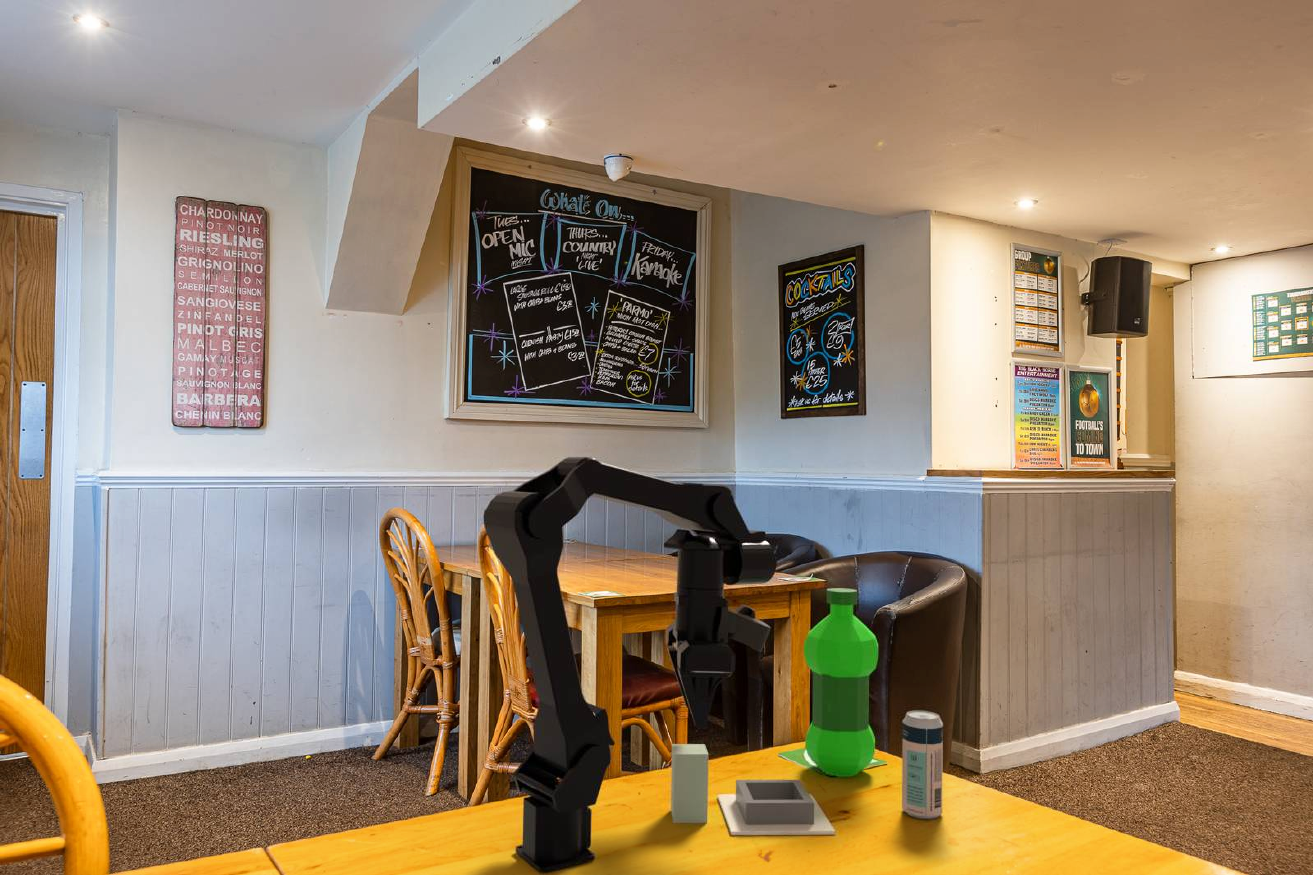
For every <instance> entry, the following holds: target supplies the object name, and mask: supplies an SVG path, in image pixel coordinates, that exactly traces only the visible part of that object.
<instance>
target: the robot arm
mask: <svg viewBox="0 0 1313 875" xmlns="http://www.w3.org/2000/svg"><path fill="white" fill-rule="evenodd" d="M590 497H593V498H596V499H597V498H598V499H601V500H607V501H610V502H615V503H619V504H623V505H626V506H630V507H634V508H639V509H643V510H647V511H650V512H653V513H655V514H658V515H659V516H660V517H661V518H662V519H663V520H665V521H667V522H669V523H671V524H673V525H675V526H677V527H679V528H680V529H679V528H677V529H676V530H675V532H674V533H673V534H672V535H671V536H670V537H668V539H666V540H665V541H664V542H663V547H664V549H668V550H669V549H670V550H677V568H676V570H677V571H676V572H677V574H676V591H674V596H673V597H674V599H673V601H674V602H675V619H674V620H675V621H672V622H671V623H670V624H668V626H666V628H665V644H666V646H667V647H666V649H667V652H668V655H669V658H670V661H671V664H672V667H673V670H674V673H675V677H676V680H677V682H678V686H679V688H680V692H681V695H682V698H683V701H684V705H685V707H686V708H687V709H689V710H690V713H691V716H692V719H693V723H694V726H695V728H698V729H703V728H705V727H707V726H706V725H707V721H708V718H709V714H710V711H711V707H712V703H713V700H714V697H715V693H716V690H717V687H718V685H719V684H721V683H722V682H723V681H724V680H725V679H727V678H729V677H731V675H732V674H733V672H735V671H736V654H735V652H734V651H733V650H732V649H731V648H730V646H729V645H728V644H727V643H728V642H729V639H731V640H734V641H736V642H739V643H741V644H744V645H747V646H748V647H750V648H751V649H752V650H753V651H756V652H758V653H761V652H762V651H763V650H764V647H765V644H766V641H767V638H768V636H769V634H770V631H771V626H769V624H767V623H765V622H763V621H762V620H760V619H757V618H756V612H755V609H753V608H751V606H750V607H749V606H746V605H744V604H741V605H740V606H739V607H738V608H736V609H732V608H729V600H728V599H727V598H726V597H725V596H724V590H725V589H724V588H725V585H726V586H739V585H740V586H741V585H743V586H744V585H757V584H758V585H761V584H766V583H768V582H770V581H771V579H772V578H774V575H775V573H776V570H777V562H778V560H777V557H776V555H775V551H774V548H773V547H772V546H771V544H770V543H769V542H768V541H766V536H767V534H766V531H763V530H756V529H754V530H753V529H751V530H750V529H749V528H748V527H747V524H746V522H745V520H744V518H743V516H742V514H741V512H740V510H739V508H738V507H737V504H736V502H735V499H734V497H733V494H732V489H730V488H729V487H728V486H727V485H724V484H721V483H720V484H719V483H702V482H701V483H697V482H676V481H671V480H667V479H664V478H660V477H656V476H653V475H649V474H645V473H642V472H639V471H634V470H631V469H626V468H623V467H621V466H617V465H612V464H609V463H606V462H601V461H599V460H598V459H596V458H595V457H589V456H569V457H566V458H564V459H562V460H561V461H559V462H558V463H557V464H555V465H554V466H553V467H551V468H550V469H548V470H547V471H544V472H543V473H541V474H539V475H537V476H534V477H533V478H531V479H529V480H527V481H525V482H523V483H522V484H520V485H519V486H517V487H516V488H515V489H513V490H512V491H511V490H509V491H502V492H501V493H499V494H497V495H495V496H494V497H493V498H492V499H491V500H490V502H489V504H488V505H487V507H486V508H485V509H484V511H483V527H484V530H485V532H486V534H487V538H488V540H489V541H490V544H491V547H492V549H493V551H494V554H495V556H496V558H497V559H498V560H499V562H500V563H501V565H502V566H503V568H504V569H505V571H506V572H507V574H508V576H510V579H511V581H512V584H513V585H512V586H513V589H514V593H515V599H516V603H517V608H518V612H519V617H520V621H521V626H522V630H523V636H524V640H525V645H526V648H527V653H528V660H529V664H530V667H531V671H532V676H533V681H534V686H535V690H536V695H537V699H538V709H537V711H536V715H535V719H534V721H533V722H534V723H533V726H532V733H533V736H532V737H533V747H532V748H531V750H530V751H529V752H528V754H527V755H526V756H525V758H524V759H523V760H522V762H520V764H519V765H518V767H517V768H516V769H515V771H514V772H513V779H514V783H515V787H516V790H518V792H520V793H524V794H526V795H528V796H527V797H523V804H522V806H523V807H522V808H523V809H522V844H519V845H517V846H515V853H516V854H518V855H519V856H520V857H521V858H523V859H524V860H525V861H526V863H528V864H530V865H531V866H532V867H533V868H535V869H536V870H537V871H538V872H540V873H547V872H550V871H554V870H558V869H562V868H566V867H570V866H574V865H578V864H582V863H586V862H590V861H594V860H595V859H596V854H595V853H594V852H593V851H592V850H590V847H591V846H592V817H593V816H592V815H593V814H592V809H591V808H590V806H594V805H596V804H597V801H598V797H599V795H600V791H601V788H602V785H603V784H602V783H603V781H604V777H605V774H606V772H607V769H608V767H609V766H610V765H611V764H612V763H611V761H612V750H611V746H615V745H616V742H615V741H614V740H613V738H612V736H611V732H610V727H609V726H610V725H609V715H608V713H607V710H606V709H605V708H603V707H600V706H597V705H594V704H592V703H590V702H587V701H586V699H585V697H584V693H583V689H582V683H581V679H580V675H579V671H578V670H579V669H578V665H577V661H576V660H577V659H576V655H575V651H574V646H573V641H572V636H571V633H570V631H571V630H570V627H569V622H568V617H567V612H566V608H565V607H566V606H565V603H564V598H563V594H562V588H561V585H560V579H559V574H558V568H559V565H560V560H561V556H562V553H563V549H564V546H565V545H564V544H565V542H564V526H566V524H568V523H569V522H570V521H572V520H573V519H574V518H576V516H578V514H579V513H580V511H581V510H582V509H583V507H584V505H585V504H586V502H587V501H588V499H589V498H590ZM693 534H694V535H693Z"/></svg>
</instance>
